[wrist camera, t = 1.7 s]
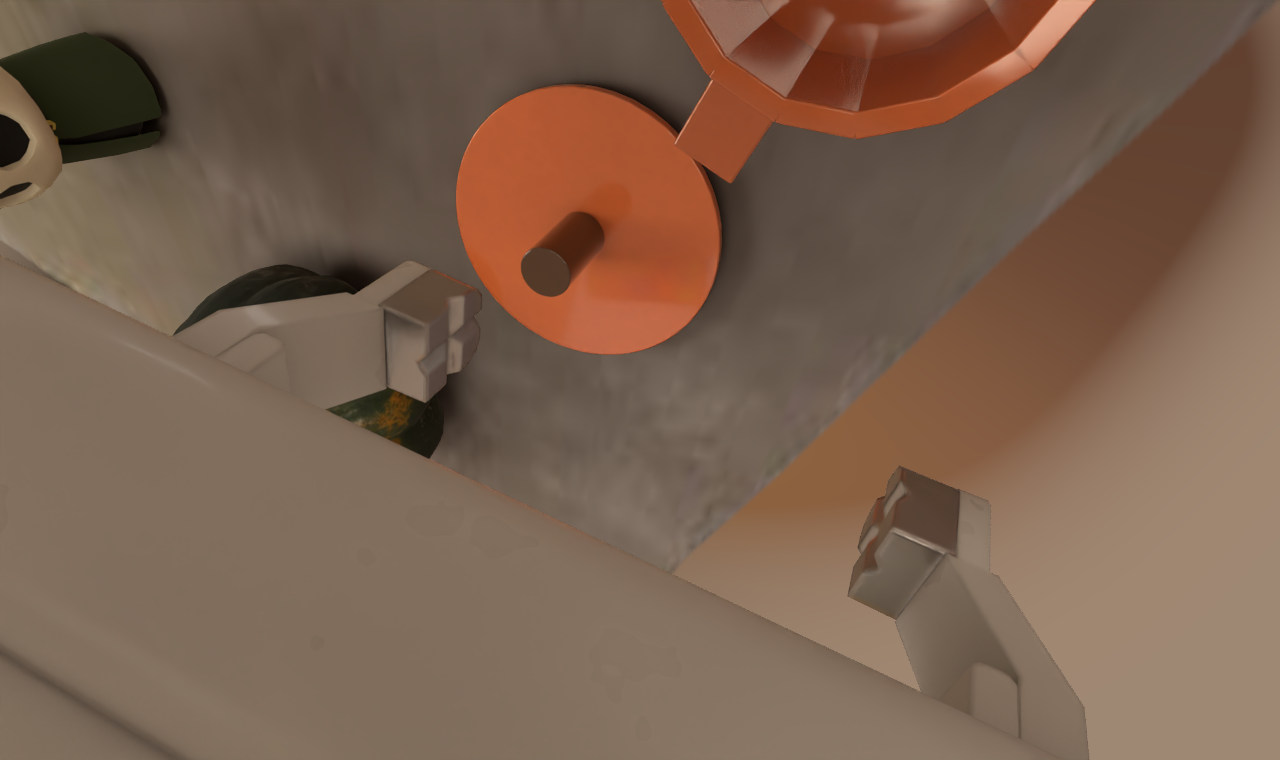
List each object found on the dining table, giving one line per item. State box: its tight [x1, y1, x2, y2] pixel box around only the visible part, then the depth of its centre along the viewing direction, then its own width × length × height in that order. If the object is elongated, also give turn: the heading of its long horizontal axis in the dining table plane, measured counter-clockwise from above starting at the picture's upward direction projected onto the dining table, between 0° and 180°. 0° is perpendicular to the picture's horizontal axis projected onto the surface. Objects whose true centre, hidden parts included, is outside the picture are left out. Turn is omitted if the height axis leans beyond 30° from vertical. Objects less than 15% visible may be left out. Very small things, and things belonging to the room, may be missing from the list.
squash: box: [173, 264, 444, 459], centre depth 41 cm, size 14×15×15 cm
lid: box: [456, 84, 722, 355], centre depth 34 cm, size 14×14×6 cm
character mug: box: [0, 32, 161, 209], centre depth 36 cm, size 11×7×13 cm, turn 152°
